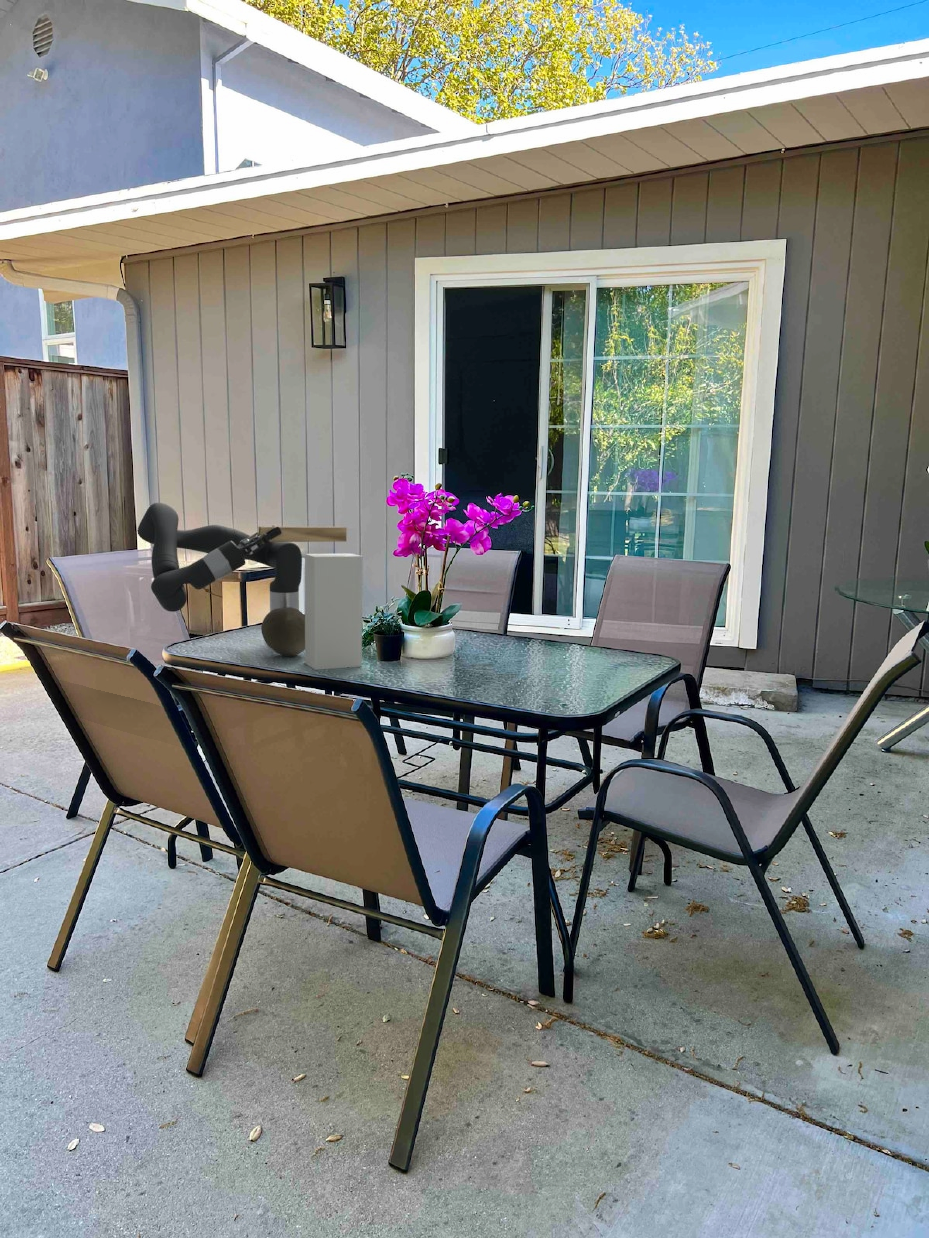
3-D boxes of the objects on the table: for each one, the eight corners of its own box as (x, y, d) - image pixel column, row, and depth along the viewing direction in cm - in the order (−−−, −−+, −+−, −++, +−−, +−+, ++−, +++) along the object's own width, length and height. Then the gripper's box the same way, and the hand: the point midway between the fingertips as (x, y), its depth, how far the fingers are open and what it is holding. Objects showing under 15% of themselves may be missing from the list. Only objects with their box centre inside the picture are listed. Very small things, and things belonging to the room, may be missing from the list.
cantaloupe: (296, 650, 276) (296, 603, 273) (318, 658, 265) (318, 608, 262) (254, 654, 267) (254, 605, 265) (275, 662, 256) (274, 612, 254)
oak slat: (258, 541, 242) (258, 526, 242) (342, 540, 253) (342, 526, 252) (261, 542, 239) (261, 527, 238) (346, 541, 249) (346, 527, 248)
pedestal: (305, 663, 257) (304, 553, 252) (350, 659, 263) (351, 553, 258) (314, 669, 248) (314, 556, 243) (361, 666, 254) (362, 556, 249)
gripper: (225, 570, 245) (278, 538, 250) (236, 575, 232) (291, 542, 237) (211, 546, 242) (265, 515, 247) (221, 551, 229) (277, 518, 235)
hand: (277, 529), depth 242 cm, fingers closed on oak slat, 4 cm apart
